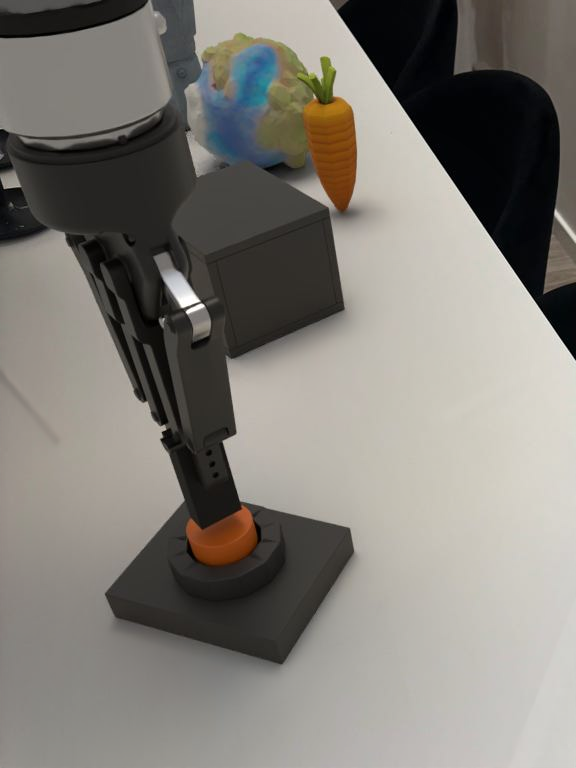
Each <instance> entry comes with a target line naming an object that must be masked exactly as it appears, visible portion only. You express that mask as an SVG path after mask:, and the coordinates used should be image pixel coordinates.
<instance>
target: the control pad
mask: <svg viewBox="0 0 576 768" xmlns="http://www.w3.org/2000/svg"><path fill="white" fill-rule="evenodd" d="M240 503H241V505H243V506H244V507H246V508H247V509H248V510H249V511H250V513H251V515H252V518H253V522H254V525H255V529H256V532H257V536H258V542H257V545H256V547H255V549H254V551H253V552H252V553H251V554H250V555H249V556H247V557H246V558H244V559H242V560H240V561H238V562H237V563H235V564H231V565H225V566H218V567H211V566H207V565H204V564H202V563H201V562H199V561H198V560H197V559H196V558H195V556H194V554H193V551H192V548H191V545H190V542H189V540H188V537H187V533H186V528H187V524H188V522H189V520H190V519H191V517H190V514H189V511H188V509H187V506H186V503H185V500H184V501H183V502H182V503H181V504H180V505H179V507H177V508H176V510H175V511H174V512H173V513H172V514H171V515H170V516H169V518H168V519H167V520H166V521H165V523H163V525H162V526H161V527H160V528H159V530H158V531H157V532H156V533H155V534H154V536H153V537H152V538H151V539H150V540H149V541H148V542H147V543H146V544H145V546H144V547H143V548H142V549H141V551H139V553H138V554H137V555H136V556H135V557H134V559H133V560H132V561H131V562H130V563H129V565H127V567H126V568H125V569H124V570H123V571H122V572H121V574H119V576H118V577H117V578H116V579H115V581H114V582H113V583H112V584H111V585H110V587H109V588H108V589H107V590H106V591H105V592H104V597H105V599H106V602H107V603H108V605H109V607H110V609H111V611H112V615H113V616H114V618H117V619H121V620H125V621H128V622H131V623H134V624H138V625H142V626H145V627H148V628H152V629H156V630H160V631H163V632H167V633H170V634H174V635H177V636H180V637H184V638H187V639H191V640H195V641H198V642H203V643H205V644H208V645H213V646H216V647H219V648H222V649H226V650H230V651H233V652H237V653H240V654H244V655H248V656H251V657H255V658H258V659H261V660H265V661H268V662H272V663H275V664H279V665H283V664H284V663H285V661H286V659H287V658H288V656H289V654H290V653H291V651H292V650H293V648H294V647H295V645H296V644H297V642H298V640H299V639H300V637H301V635H302V634H303V632H304V631H305V630H306V628H307V626H308V625H309V623H310V621H311V620H312V618H313V617H314V615H315V614H316V612H317V610H319V608H320V606H321V604H322V603H323V601H324V600H325V598H326V596H327V595H328V593H329V592H330V590H331V589H332V587H333V586H334V584H335V582H336V581H337V580H338V578H339V576H340V575H341V573H342V572H343V570H344V568H345V567H346V565H347V564H348V562H349V560H350V559H351V557H352V556H353V554H354V553H355V546H354V541H353V536H352V531H351V527H348V526H344V525H339V524H336V523H331V522H327V521H323V520H318V519H314V518H310V517H305V516H301V515H297V514H293V513H288V512H285V511H280V510H276V509H271V508H268V507H265V506H262V505H258V504H254V503H249V502H245V501H241V500H240Z"/></svg>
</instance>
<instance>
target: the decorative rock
mask: <svg viewBox="0 0 576 768" xmlns="http://www.w3.org/2000/svg"><path fill="white" fill-rule="evenodd" d="M200 58H201V62H202V66H201V69H202V72H201V75H200V77H199V79H198V80H197V81H196V82H195V83H193V84H190V85H189V86H188V87H187V88H186V89H185V92H184V93H185V96H186V100H187V120H188V124H189V126H190V128H191V129H190V131H191V132H192V135H193V137H194V139H195V142H196V143H197V144H198V145H199V146H201V147H202V148H203V149H205V150H206V151H207V152H208V153H209V154H211V155H212V156H213V157H215V159H216V160H217V161H218V162H219V163H220V164H227V165H229V166H231V165H234V164H237V163H240V162H243V161H246V160H248V161H250V162H252V163H253V164H255V165H257V166H259V167H260V168H262V169H267V168H270V167H273V166H276V165H279V164H285V165H286V166H288V167H290V168H292V169H299V168H301V167H303V166H305V163H306V162H305V161H306V154H307V153H310V150H309V145H308V141H307V136H306V131H305V126H304V121H303V109H304V107H305V106H306V105H307V104H308V103H310V102H311V101H312V100H313V99H315V97H314V96H315V94H314V93H313V92H312V90H311V89H310V88H309V87H308V86H307V85H306V84H305V83H304V82H302V81H300V80H299V79H297V75H298V73H302V74H304V75H306V76H307V77H309V72H308V69H307V67H306V66H305V65H304V63H303V62H302V61H301V60H300V59H299V57H298V55H297V53H296V52H295V51H294V50H293V49H291V48H290V47H289V46H288V45H286V44H285V43H283V42H281V41H276V40H273V39H270V38H266V37H262V36H261V37H257V38H254V37H252V36H250V35H249V36H247V34H245V33H243V32H241V31H240V32H236V33H235V34H234V35H233V37H232V39H228V40H223V41H221V42H218V43H217V45H216V46H213V45H211V46H208V47H206V48H205V49H204V50H203V51H202V53H201V56H200ZM309 78H310V77H309Z"/></svg>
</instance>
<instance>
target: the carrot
mask: <svg viewBox="0 0 576 768" xmlns="http://www.w3.org/2000/svg"><path fill="white" fill-rule="evenodd" d="M319 61H320V68H321V72H322V78H320V79H319V78H318V76H317V75H316V73H315V72H311V73H308V75H309V77H307V76H306V75H304V74H302V73H298V75H297V79H299V80H300V81H302V82H304V83H305V84H306V85H307V86H308V87H309V88H310V89H311V90H312V92H313V95H314V96H315V97H314V99H313V100H312V101H311V102H310V103H308V104H307V105H306V106H305V107H304V109H303V121H304V126H305V131H306V136H307V141H308V145H309V150H310V152H309V153H310V157H311V160H312V163H313V167H314V169H315V171H316V174H317V177H318V179H319V182H320V185H321V186H322V188H323V191H324V193H326V196H327V197H328V199H329V200H330V201H331V202H332V204H333V206H334V208H335V209H336V210H337V211H339V212H340V213H345V211H346V210H347V209H348V208H349V205H350V202H351V200H352V198H353V194H354V191H355V190H354V189H355V186H356V183H357V182H356V180H357V169H358V168H357V166H358V144H357V132H356V121H355V113H354V110H353V108H352V106H351V105H350V104H349V103H348V102H347V101H346V100H345V99H344V98H343V97H340V96H334V84H335V80H336V78H337V77H336V76H337V69H336V68H335V67H333V66H332V62H331V58H330V57H328V56H326V55H321V57H319Z"/></svg>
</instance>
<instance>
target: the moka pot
mask: <svg viewBox="0 0 576 768" xmlns="http://www.w3.org/2000/svg"><path fill="white" fill-rule="evenodd" d="M151 2H152V6H153V10H154V11H159V12H160V14H161V15H162V16H163V17H164V18H165V19H166V26H167V29H166V32H165V33H164V34H162V35H161V36H160V39H161V43H162V47H163V50H164V54H165V58H166V62H167V66H168V69H169V73H170V77H171V81H172V85H173V95H172V97H171V99H170V101H169V102H168V103H170V104H171V105H172V106H173V107H174V108H176V109H177V110H178V111H179V112H180V114H181V116H182V120H183V124H184V128H185V132H186V131H189V130H190V131H191V128H190V126H189V124H188V120H187V100H186V96H185V93H184V92H185V89H186V88H187V87H188V86H189V85H190V84H193V83H195V82H196V81H197V80H198V79H199V77H200V75H201V72H202V66H201V63H200V60H199V58H198V55H197V53H196V50H197V48H196V47H197V46H196V40H195V36H196V35H197V26H196V25H197V23H196V14H195V13H196V12H195V4H194V0H151Z"/></svg>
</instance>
